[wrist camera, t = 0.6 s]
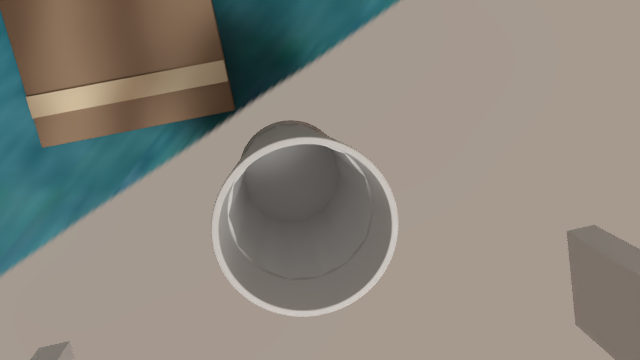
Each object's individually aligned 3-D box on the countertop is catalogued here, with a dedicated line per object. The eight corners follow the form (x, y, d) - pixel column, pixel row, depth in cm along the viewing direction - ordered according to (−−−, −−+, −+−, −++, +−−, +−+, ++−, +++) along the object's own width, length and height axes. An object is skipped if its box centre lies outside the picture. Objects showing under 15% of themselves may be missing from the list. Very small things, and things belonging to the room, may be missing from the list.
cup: (296, 256, 38) (313, 350, 26) (198, 178, 36) (171, 240, 24) (379, 164, 37) (436, 219, 25) (284, 79, 35) (298, 96, 24)
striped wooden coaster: (51, 143, 35) (41, 148, 33) (-7, -53, 32) (-21, -58, 30) (235, 107, 35) (234, 110, 34) (193, -87, 33) (190, -94, 31)
